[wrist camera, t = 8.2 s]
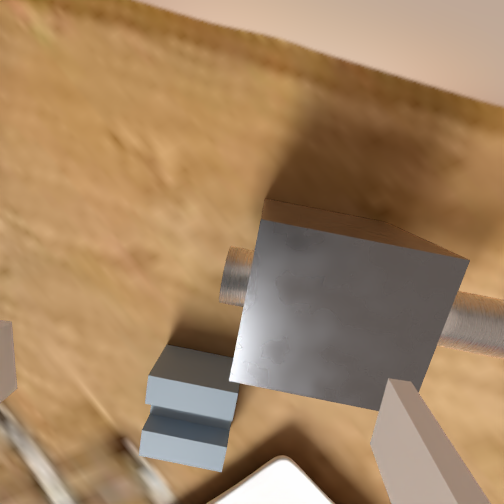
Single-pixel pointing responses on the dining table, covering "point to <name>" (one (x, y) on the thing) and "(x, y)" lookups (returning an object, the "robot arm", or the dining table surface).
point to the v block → (189, 408)
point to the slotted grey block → (341, 305)
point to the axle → (454, 332)
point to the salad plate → (275, 486)
